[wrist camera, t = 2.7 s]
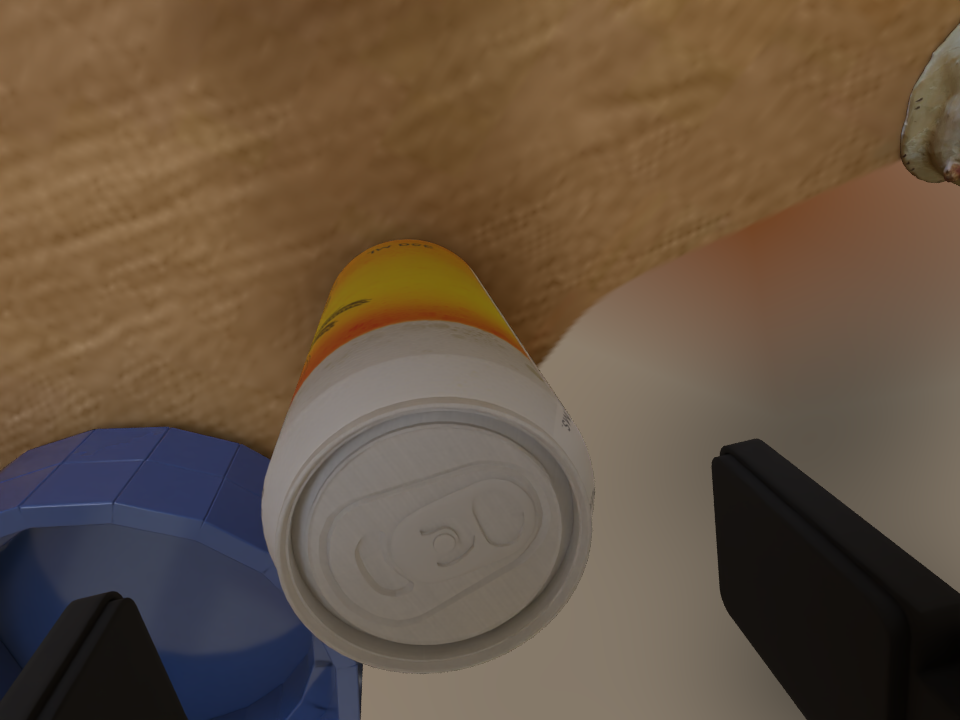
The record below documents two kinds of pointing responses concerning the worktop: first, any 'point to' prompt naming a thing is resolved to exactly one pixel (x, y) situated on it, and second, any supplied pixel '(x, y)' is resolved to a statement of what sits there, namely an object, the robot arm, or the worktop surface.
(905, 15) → the worktop surface
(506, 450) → the beer can
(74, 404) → the worktop surface
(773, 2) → the worktop surface
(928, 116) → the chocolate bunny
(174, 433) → the bowl
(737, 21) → the worktop surface
